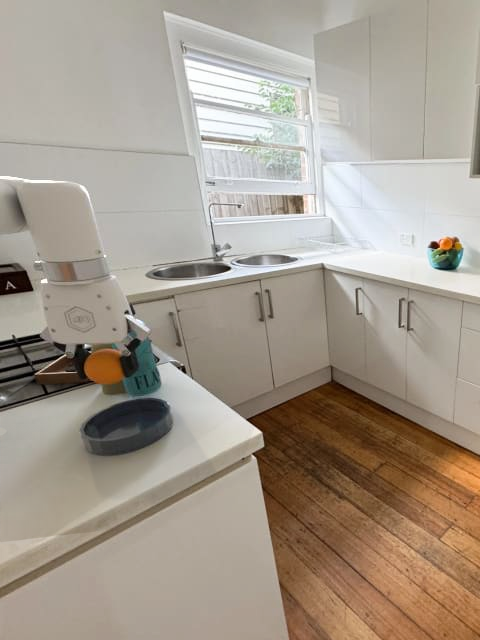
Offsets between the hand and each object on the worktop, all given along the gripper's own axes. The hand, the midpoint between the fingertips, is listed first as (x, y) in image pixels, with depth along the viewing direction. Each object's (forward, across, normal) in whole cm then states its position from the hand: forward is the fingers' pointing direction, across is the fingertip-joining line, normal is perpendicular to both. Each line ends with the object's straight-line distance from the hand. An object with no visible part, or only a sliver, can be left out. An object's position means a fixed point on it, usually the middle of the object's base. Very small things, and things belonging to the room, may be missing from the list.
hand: (109, 373), depth 64 cm
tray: (+12, -20, +26) cm, 35 cm away
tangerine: (-1, 0, 0) cm, 1 cm away
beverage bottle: (+12, -2, +13) cm, 18 cm away
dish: (+12, +1, 0) cm, 12 cm away
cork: (+12, -9, +17) cm, 23 cm away
